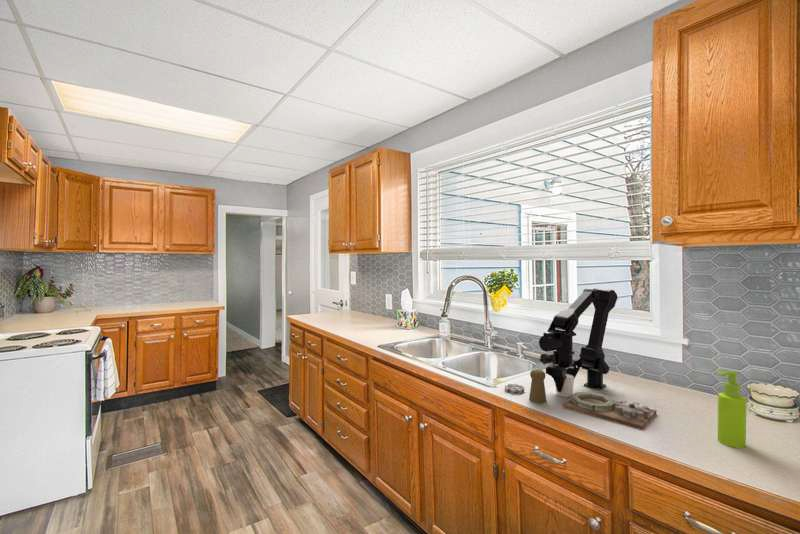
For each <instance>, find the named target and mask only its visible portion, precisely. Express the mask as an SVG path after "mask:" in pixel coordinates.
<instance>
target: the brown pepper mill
mask: <svg viewBox="0 0 800 534" xmlns="http://www.w3.org/2000/svg"><path fill="white" fill-rule="evenodd" d="M529 377H530V378H531V383H530V389H529V390H530V391H529V398H528V400H529V401H530V402H531V403H534V404H546V403H547V402H548V401H547V393H546V387H545V379H546V371H544V370H542V369H536V368H535V369H532V370H531V371H530V373H529Z"/></svg>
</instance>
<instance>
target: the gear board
mask: <svg viewBox="0 0 800 534" xmlns="http://www.w3.org/2000/svg"><path fill="white" fill-rule="evenodd" d="M640 404H641V403H639V402H634V401H632V402H628V401H626V400H621V401H619V400H617V399H616V400H615V399H613V398H611V397H610V396H608V395H606V394H602V393H597V392H591V391H577V392H574V393H572V395H571V396H570V398H569V399H568V400H566V401H565V402H563V403H562V408H564V409H567V410H571V411H575V412H578V413H580V414H581V413H582V414H585V415H587V416H588V415H589V416H593V417H597V418H600V419H603V420H606V421H610V422H614V423H616V424H621V425H624V426H628V427H632V428H634V429H635V428H636V429H639V430H641V431H642V430H644V429H645V427H647V426H648V425H649V423H650V422H651V421H652V420H653V419H654V417H656V416H657V409H656V410H655V409H651V408H650V407H648V406H647V405H640Z"/></svg>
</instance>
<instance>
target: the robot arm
mask: <svg viewBox="0 0 800 534" xmlns="http://www.w3.org/2000/svg"><path fill="white" fill-rule="evenodd" d="M617 301H618V293H616V291H615V290H613V289H609V288H608V289H606V288H604V289H603V288H592V287H586V288H584V289H583V292H582V293H581V294H580V295H579V296H578V297H577V298H576V299H575V301H573V303H571V304H570V306H569V307H568V308H567V309H564V310H561V311H559V312H558V313H556V314H555V315H554V316H553V318H552V321H551V323H550V325H549V327H548V329H547V331H546V332H543V333H542V334H543V335H542V336H541V337H540V338H539V340H538V344H539V348H540V349H541V350H542V351H543V352H544V353H541V354H540V356H539V361H540V362H541V363H542V365H547V364H550V365H548V366H547V367H545V375H548V376H550V377H552V378H553V383H555V385H556V386H555V385H554V386H555V389H556V388H557V391H558V392H561V391H562V388H563V385H564V383H565V380H566V377H567V375H566V374H570V375H572V376H574V380H575V379H576V377H577V374H578V373H579V371H580V370H581V369H582V370H586V382H585V383H584V384H583V387H588V388H590V389H591V388H592V389H596V390H599V391H600V390H603V389H604V388H605V387H607V384H605V383H604V375H607V374H608V373H609V372H610V366H609V364H607V362H606V361H605V358H606V357H605V356H606V355H605V352H604V349H603V343H604V337H605V334H606V333H605V332H606V329H607V328H606V327H607V323H608V318H609V314H610V312H611V311H612V310H613V309H614V307H615V306H616V303H617ZM591 305H593V307H594V313H593V318H592V324H591V328H590V333H589V337H588V342H587V345H585V346H582V347H581V348H580V353H579V356H578V357H579V358H575V357H573V355H574V354H575V350H574V349H573V345H574V344H573V343H574V342H573V341H574V340H573V337H575V336H577V333H576V332H575V331H574V330H575V329H576V327H577V325H578V324H579V318H580V316H581V315H583V313H585V311H586V310H587V309H588V308H589V306H591ZM551 351H552V352H551ZM545 352H546V353H545ZM547 352H551V353H547ZM551 363H552V364H551Z"/></svg>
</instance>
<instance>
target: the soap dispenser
mask: <svg viewBox="0 0 800 534" xmlns="http://www.w3.org/2000/svg"><path fill="white" fill-rule="evenodd" d="M716 375H720V376H723V377H725V376H727V381H724V383H723V392H719V393H718V395H717V441H718V442H719V443H720V444H722V445H724V444H725V446H727V447H731V448H736V449H744V448H746V446H747V397H745V396H743V395H741V384H740V383H738V382H737V376H741V372H739V371H736V370H727V369H726V370H719V371H716Z"/></svg>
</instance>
